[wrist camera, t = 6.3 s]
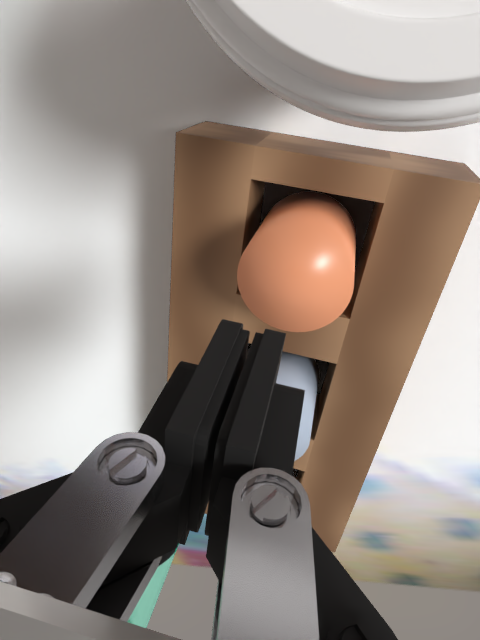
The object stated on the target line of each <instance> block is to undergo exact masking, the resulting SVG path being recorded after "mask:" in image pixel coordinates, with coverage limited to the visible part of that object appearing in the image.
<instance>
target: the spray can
mask: <svg viewBox="0 0 480 640" xmlns="http://www.w3.org/2000/svg"><path fill="white" fill-rule="evenodd" d="M178 545H179V544H178ZM176 550H177V548H176V549H174V550H172V551H170V552H168V553H166V554H164V555H162V558H161V560H160V563H159V566H158V568H157V569H156V571H155V573H154V575H153V577H152V578H151V580H150V582H149V584H148V586H147V587H146V589H145V591H144V593H143V595H142V596H141V598H140V600H139V602H138V603H137V605H136V607H135V609H134V611H133V612H132V614H131V616H130V618H129V620H128V621H127V622H128V623H131V624H134V625H137V626H141V627H144V628H147V625H148V622H149V620H150V617H151V615H152V612H153V610H154V607H155V604H156V602H157V599H158V597H159V594H160V591H161V589H162V586H163V584H164V581H165V578H166V576H167V573H168V570H169V568H170V565H171V563H172V560H173V558H174V555H175V552H176Z"/></svg>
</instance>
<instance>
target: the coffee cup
mask: <svg viewBox="0 0 480 640" xmlns="http://www.w3.org/2000/svg"><path fill="white" fill-rule="evenodd" d="M186 1H187V3H188V5H189V6H190V8H191V9H192V11H193V12H194V14H195V15H196V17H197V18H198V20H199V21H200V23H201V24H202V25H203V27H204V28H205V29H206V31H207V32H208V33H209V35H210V36H211V37H212V38H213V40H214V41H215V42H216V43H217V44H218V45H219V47H220V48H221V49H222V50H223V51H224V52H225V53H226V54H227V55H228V56H229V57H230V58H231V59H232V60H233V61H234V62H235V63H236V64H237V65H238V66H239V67H240V68H241V69H242V70H243V71H244V72H245V73H247V74H248V75H249V76H250V77H251V78H253V79H254V80H255V81H256V82H258V83H259V84H260V85H262V86H263V87H264V88H266V89H267V90H269V91H270V92H272V93H273V94H275V95H276V96H278V97H280V98H281V99H283V100H285V101H286V102H288V103H290V104H292V105H294V106H296V107H298V108H300V109H302V110H304V111H306V112H309V113H311V114H313V115H316V116H319V117H321V118H324V119H327V120H330V121H334V122H337V123H341V124H345V125H349V126H354V127H359V128H365V129H372V130H380V131H399V132H411V131H429V130H439V129H446V128H453V127H458V126H464V125H469V124H473V123H477V122H480V0H186Z"/></svg>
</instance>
